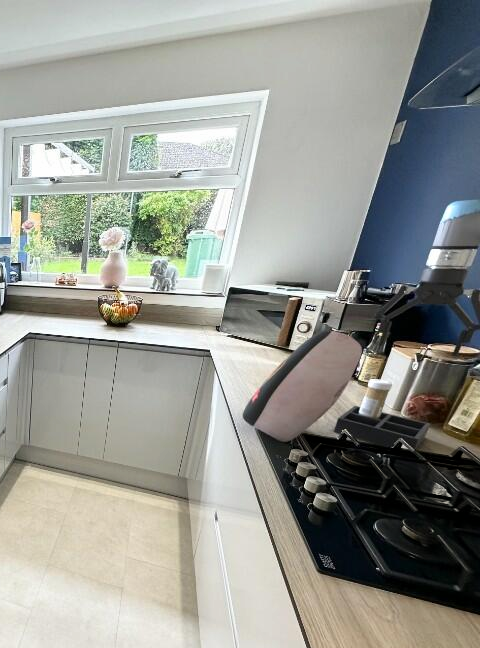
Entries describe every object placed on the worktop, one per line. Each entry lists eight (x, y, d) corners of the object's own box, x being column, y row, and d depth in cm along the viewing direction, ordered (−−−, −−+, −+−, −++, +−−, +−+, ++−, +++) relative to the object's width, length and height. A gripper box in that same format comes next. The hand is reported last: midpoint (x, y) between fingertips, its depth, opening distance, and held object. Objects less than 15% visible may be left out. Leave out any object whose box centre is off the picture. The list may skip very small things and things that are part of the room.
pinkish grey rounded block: (253, 413, 125) (278, 318, 115) (335, 433, 111) (372, 328, 101) (231, 434, 111) (258, 329, 101) (322, 461, 97) (363, 342, 87)
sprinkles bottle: (380, 428, 112) (397, 384, 108) (363, 428, 113) (380, 383, 108) (366, 421, 117) (382, 378, 112) (350, 421, 117) (365, 378, 112)
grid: (424, 439, 108) (430, 423, 107) (411, 455, 100) (418, 439, 98) (349, 419, 120) (354, 405, 118) (333, 432, 112) (338, 418, 110)
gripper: (375, 266, 107) (351, 343, 114) (529, 270, 88) (489, 362, 95) (381, 265, 111) (358, 339, 118) (530, 268, 92) (491, 356, 99)
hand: (416, 349), depth 107 cm, fingers open, 13 cm apart
